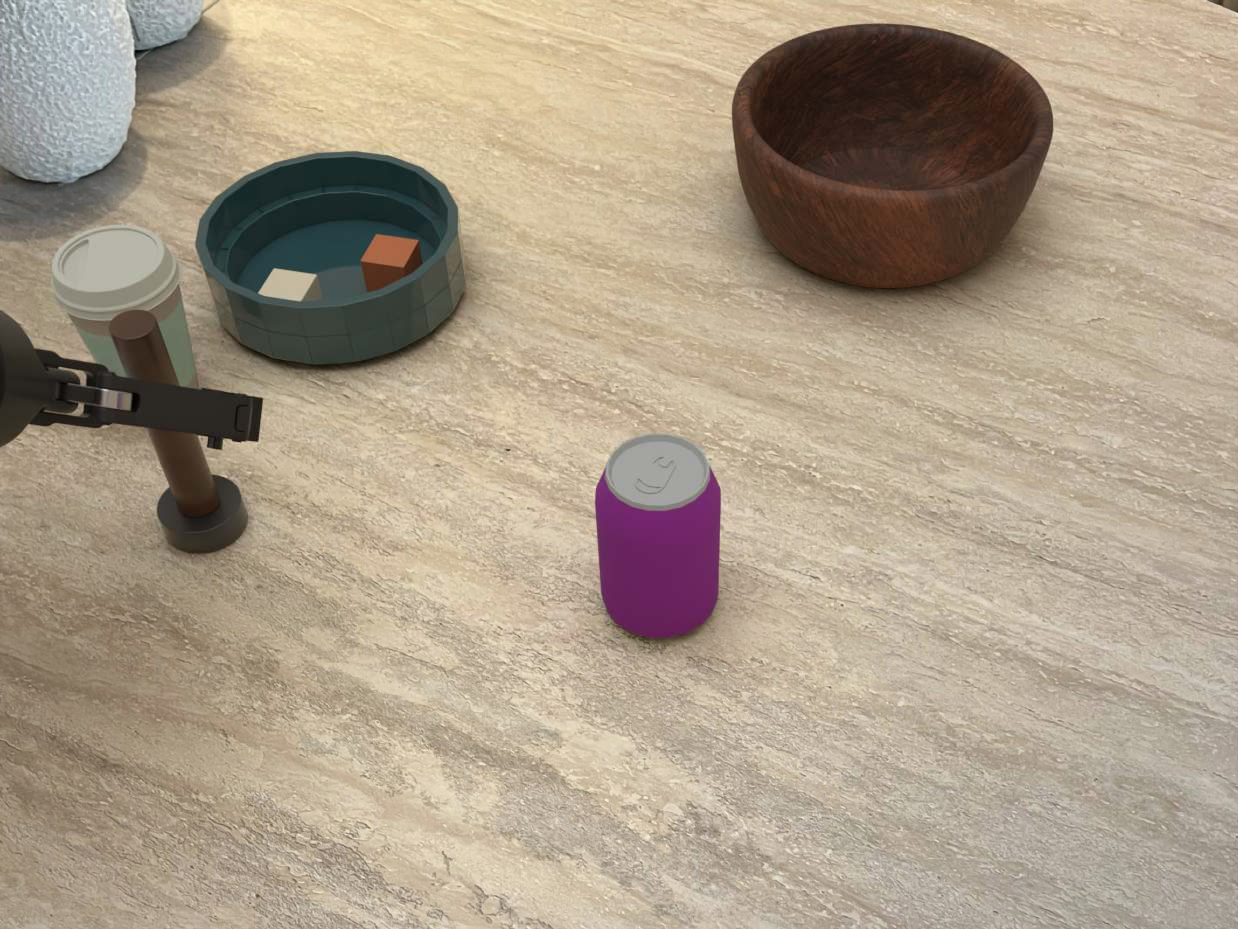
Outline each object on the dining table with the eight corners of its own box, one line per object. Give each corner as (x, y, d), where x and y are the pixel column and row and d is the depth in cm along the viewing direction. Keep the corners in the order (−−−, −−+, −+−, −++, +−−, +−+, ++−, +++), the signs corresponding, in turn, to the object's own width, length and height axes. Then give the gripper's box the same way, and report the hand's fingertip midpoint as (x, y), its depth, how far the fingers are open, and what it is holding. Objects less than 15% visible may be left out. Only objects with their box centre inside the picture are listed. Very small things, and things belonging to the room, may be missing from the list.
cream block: (266, 334, 111) (255, 296, 108) (283, 305, 113) (273, 267, 110) (309, 340, 111) (299, 302, 108) (326, 311, 113) (317, 274, 110)
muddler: (150, 545, 99) (66, 346, 85) (186, 488, 102) (110, 288, 89) (227, 559, 98) (155, 361, 85) (260, 501, 101) (196, 301, 88)
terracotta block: (367, 298, 114) (360, 260, 111) (383, 271, 116) (376, 233, 113) (410, 304, 113) (403, 267, 110) (425, 277, 115) (419, 239, 113)
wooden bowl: (954, 113, 131) (973, 0, 123) (1083, 279, 117) (1113, 164, 109) (689, 161, 126) (690, 47, 118) (789, 340, 112) (797, 224, 104)
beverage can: (637, 543, 99) (632, 409, 90) (738, 583, 97) (744, 449, 87) (580, 620, 95) (568, 487, 86) (684, 663, 93) (684, 532, 83)
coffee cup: (150, 342, 112) (99, 206, 102) (241, 375, 109) (198, 239, 100) (75, 411, 107) (15, 274, 97) (168, 447, 105) (117, 311, 95)
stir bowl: (174, 351, 111) (151, 285, 106) (274, 202, 123) (257, 137, 118) (419, 389, 109) (407, 324, 104) (498, 233, 120) (490, 169, 115)
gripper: (-311, 410, 72) (-37, 432, 93) (160, 490, 69) (334, 494, 90) (-302, 255, 71) (-27, 312, 92) (177, 329, 68) (349, 371, 89)
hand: (152, 402), depth 91 cm, fingers open, 13 cm apart
